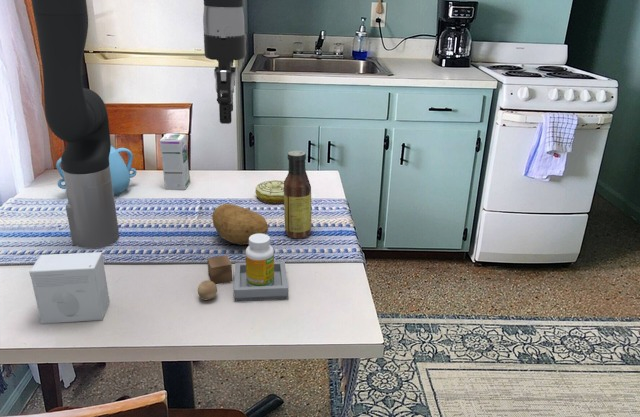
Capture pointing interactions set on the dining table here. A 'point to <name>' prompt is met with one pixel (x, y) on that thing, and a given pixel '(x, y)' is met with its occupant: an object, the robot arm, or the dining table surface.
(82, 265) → the skincare box
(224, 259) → the walnut block
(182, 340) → the dining table surface
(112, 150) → the decorative pot
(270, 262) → the supplement bottle
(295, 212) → the sauce bottle
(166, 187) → the syrup box
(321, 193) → the dining table surface
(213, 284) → the cork ball
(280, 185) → the decorated donut
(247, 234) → the potato
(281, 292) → the tray
